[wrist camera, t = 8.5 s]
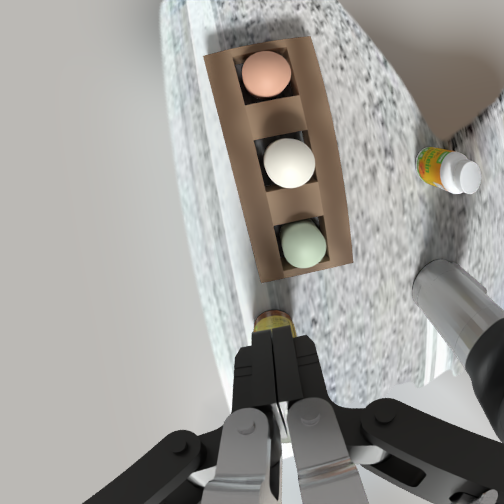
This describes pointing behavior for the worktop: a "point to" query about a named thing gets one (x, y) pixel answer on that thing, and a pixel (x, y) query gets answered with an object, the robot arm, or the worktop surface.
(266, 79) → the button terracotta
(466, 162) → the supplement bottle
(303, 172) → the button cream
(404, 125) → the worktop surface
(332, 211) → the panel
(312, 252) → the button sage
